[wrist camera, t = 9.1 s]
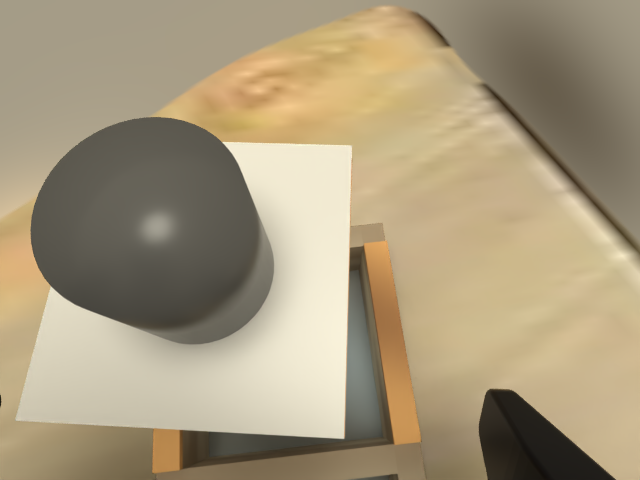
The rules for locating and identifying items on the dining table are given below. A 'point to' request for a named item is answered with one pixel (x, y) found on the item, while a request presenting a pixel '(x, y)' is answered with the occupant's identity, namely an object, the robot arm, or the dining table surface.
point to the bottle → (193, 284)
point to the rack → (361, 402)
